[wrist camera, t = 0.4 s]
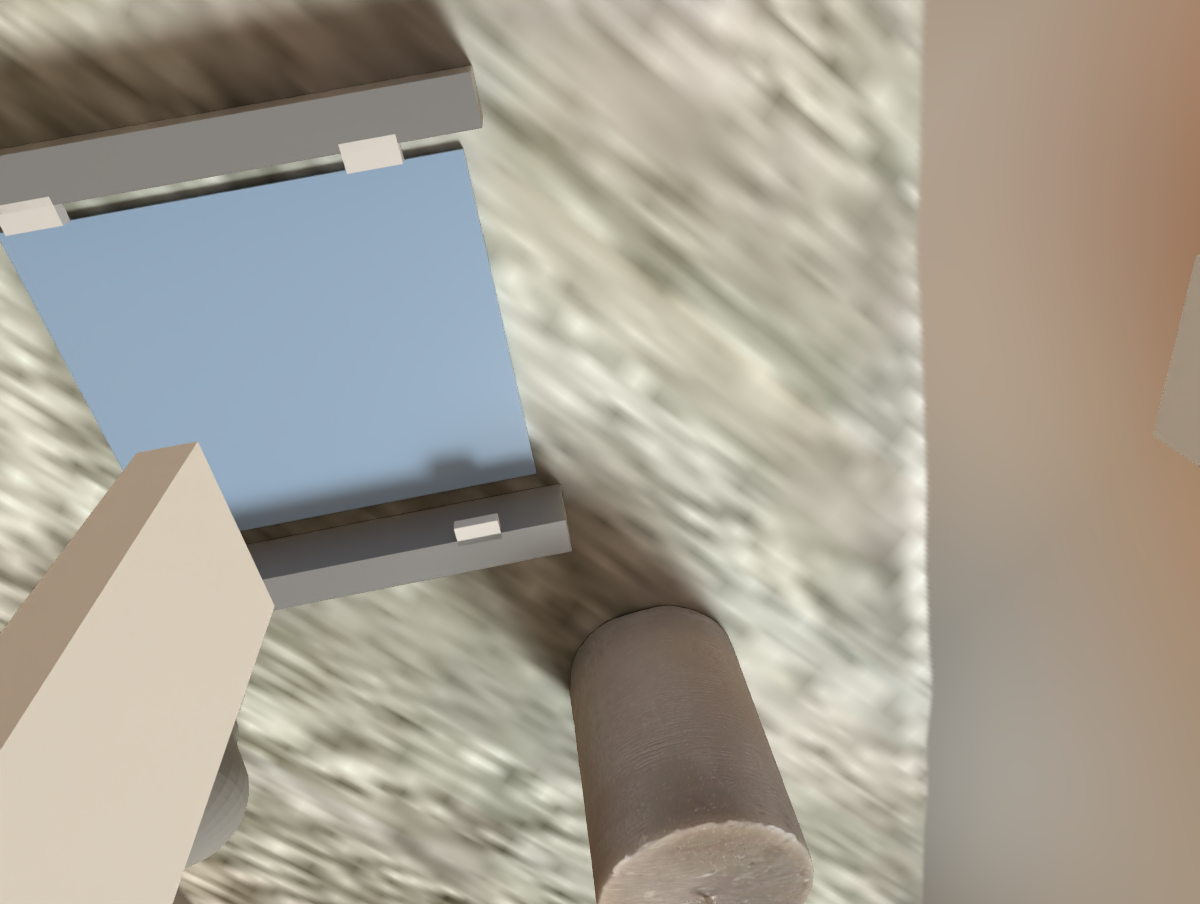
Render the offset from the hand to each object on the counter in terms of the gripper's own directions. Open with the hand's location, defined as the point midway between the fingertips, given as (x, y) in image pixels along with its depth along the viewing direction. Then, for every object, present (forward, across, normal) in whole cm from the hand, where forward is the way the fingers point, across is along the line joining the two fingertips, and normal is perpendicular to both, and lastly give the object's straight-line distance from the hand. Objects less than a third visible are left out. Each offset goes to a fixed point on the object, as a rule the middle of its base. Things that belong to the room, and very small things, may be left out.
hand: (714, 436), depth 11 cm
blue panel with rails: (+24, -13, -7) cm, 28 cm away
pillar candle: (+24, 0, -29) cm, 38 cm away
